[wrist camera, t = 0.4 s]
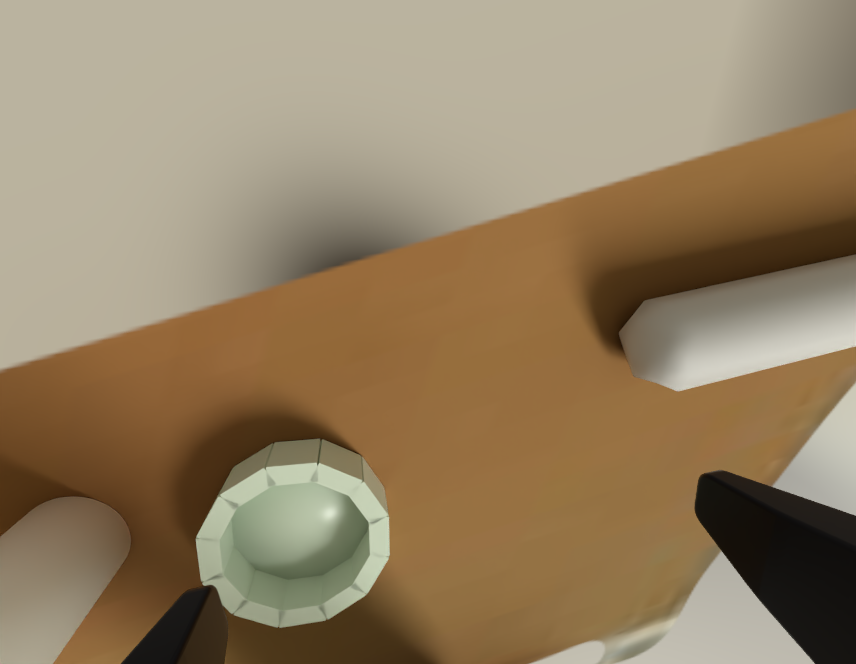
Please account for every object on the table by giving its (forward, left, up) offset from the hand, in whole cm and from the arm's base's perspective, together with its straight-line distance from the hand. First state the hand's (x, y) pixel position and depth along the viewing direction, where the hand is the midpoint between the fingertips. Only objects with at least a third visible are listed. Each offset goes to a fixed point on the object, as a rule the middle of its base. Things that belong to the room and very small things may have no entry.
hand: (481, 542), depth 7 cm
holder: (-9, +5, -15) cm, 18 cm away
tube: (+2, -25, -15) cm, 29 cm away
